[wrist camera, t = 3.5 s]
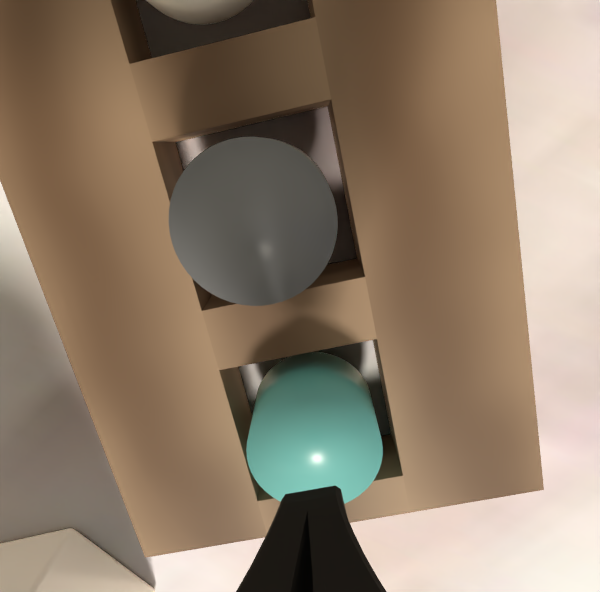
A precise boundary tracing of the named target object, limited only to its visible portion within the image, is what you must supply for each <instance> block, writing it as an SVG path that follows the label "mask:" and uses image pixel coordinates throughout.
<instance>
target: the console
mask: <svg viewBox="0 0 600 592" xmlns="http://www.w3.org/2000/svg"><path fill="white" fill-rule="evenodd" d="M307 1H308V6H309V12H310V17H311V18H310V19H306V20H302V21H298V22H294V23H290V24H286V25H282V26H278V27H274V28H270V29H266V30H262V31H258V32H254V33H251V34H247V35H243V36H239V37H235V38H231V39H227V40H223V41H219V42H215V43H211V44H207V45H203V46H199V47H195V48H191V49H187V50H183V51H179V52H175V53H171V54H167V55H163V56H159V57H155V58H152V57H151V54H150V50H149V47H148V43H147V39H146V36H145V32H144V29H143V25H142V22H141V18H140V14H139V11H138V7H137V4H136V0H0V181H1V184H2V186H3V189H4V191H5V194H6V197H7V199H8V202H9V204H10V207H11V210H12V212H13V215H14V217H15V220H16V223H17V225H18V228H19V230H20V233H21V236H22V238H23V241H24V243H25V246H26V249H27V251H28V254H29V256H30V259H31V262H32V264H33V267H34V269H35V272H36V275H37V277H38V280H39V282H40V285H41V288H42V290H43V293H44V295H45V298H46V301H47V303H48V306H49V308H50V311H51V314H52V316H53V319H54V322H55V324H56V327H57V329H58V332H59V335H60V337H61V340H62V342H63V345H64V348H65V350H66V353H67V355H68V358H69V361H70V363H71V366H72V368H73V371H74V374H75V376H76V379H77V381H78V384H79V387H80V389H81V392H82V394H83V397H84V400H85V402H86V405H87V407H88V410H89V413H90V415H91V418H92V420H93V423H94V426H95V428H96V431H97V433H98V436H99V439H100V441H101V444H102V446H103V449H104V452H105V454H106V457H107V459H108V462H109V465H110V467H111V470H112V472H113V475H114V478H115V480H116V483H117V485H118V488H119V491H120V493H121V496H122V499H123V501H124V504H125V506H126V509H127V512H128V514H129V517H130V519H131V522H132V525H133V527H134V530H135V532H136V535H137V538H138V540H139V543H140V545H141V548H142V551H143V553H144V556H145V557H151V556H157V555H163V554H169V553H175V552H181V551H187V550H192V549H198V548H204V547H210V546H216V545H222V544H228V543H233V542H239V541H245V540H251V539H257V538H263V537H266V535H267V533H268V531H269V528H270V526H271V524H272V522H273V519H274V517H275V515H276V512H277V510H278V508H279V505H280V503H281V502H280V501H278V500H277V499H275V498H273V497H272V496H270V495H269V494H268V493H267V492H266V491H264V489H263V488H262V487H261V486H260V485H259V484H258V483H257V481H256V480H255V478H254V476H253V475H252V473H251V470H250V468H249V465H248V460H247V452H246V448H247V440H248V435H249V430H250V425H251V421H252V414H251V410H250V407H249V403H248V399H247V396H246V392H245V389H244V385H243V382H242V378H241V374H240V371H239V367H238V366H243V365H248V364H253V363H258V362H263V361H268V360H273V359H278V358H283V357H288V356H293V355H298V354H303V353H309V352H314V351H319V350H324V349H329V348H334V347H339V346H344V345H349V344H354V343H359V342H364V341H369V340H373V343H374V348H375V353H376V358H377V363H378V368H379V374H380V379H381V384H382V389H383V394H384V399H385V405H386V410H387V415H388V420H389V425H390V430H391V434H389V435H384V436H381V439H382V446H383V457H382V462H381V466H380V469H379V471H378V473H377V475H376V477H375V479H374V480H373V482H372V483H371V485H370V486H369V487H368V488H367V489H366V490H365V491H364V492H363V493H362V494H360V495H359V496H358V497H356V498H355V499H353V500H351V501H349V502H347V503H345V504H344V505H345V509H346V513H347V517H348V520H349V523H351V522H357V521H363V520H369V519H374V518H380V517H386V516H392V515H398V514H404V513H410V512H416V511H421V510H427V509H433V508H439V507H445V506H451V505H457V504H463V503H468V502H474V501H480V500H486V499H492V498H498V497H504V496H510V495H515V494H521V493H527V492H533V491H539V490H544V487H543V477H542V467H541V457H540V446H539V436H538V426H537V416H536V405H535V395H534V385H533V375H532V364H531V354H530V344H529V334H528V324H527V313H526V303H525V293H524V283H523V272H522V262H521V252H520V242H519V232H518V221H517V211H516V201H515V191H514V180H513V170H512V160H511V150H510V139H509V129H508V119H507V109H506V99H505V88H504V78H503V68H502V58H501V47H500V37H499V27H498V17H497V7H496V0H307ZM326 106H328V110H329V115H330V120H331V125H332V131H333V136H334V141H335V146H336V151H337V156H338V162H339V167H340V172H341V177H342V182H343V187H344V193H345V198H346V203H347V208H348V213H349V218H350V224H351V229H352V234H353V239H354V244H355V250H356V255H357V259H352V260H347V261H342V262H338V263H333V264H328V265H326V267H325V269H324V270H323V272H322V273H321V274H320V276H319V277H318V278H317V279H316V280H315V281H314V282H313V283H312V284H311V285H310V286H309V287H308V288H306V289H305V290H304V291H302V292H301V293H299V294H297V295H296V296H294V297H292V298H290V299H287V300H285V301H283V302H279V303H275V304H271V305H264V306H248V305H240V304H236V303H232V302H229V301H226V300H223V299H221V298H219V297H217V296H215V295H213V294H211V293H210V292H208V291H207V290H205V289H204V288H202V287H201V286H200V285H199V284H198V283H197V282H196V281H194V279H193V278H192V277H191V276H190V275H189V274H188V273H187V271H186V270H185V269H184V267H183V266H182V264H181V263H180V261H179V259H178V257H177V255H176V253H175V250H174V247H173V244H172V241H171V237H170V232H169V222H168V221H169V207H170V201H171V197H172V194H173V190H174V188H175V185H176V183H177V181H178V179H179V177H180V176H181V174H182V173H183V168H182V164H181V161H180V157H179V153H178V150H177V146H176V143H175V142H178V141H182V140H187V139H191V138H195V137H199V136H203V135H208V134H212V133H216V132H220V131H224V130H229V129H233V128H237V127H241V126H246V125H250V124H254V123H258V122H262V121H267V120H271V119H275V118H279V117H283V116H288V115H292V114H296V113H300V112H305V111H309V110H313V109H317V108H321V107H326Z"/></svg>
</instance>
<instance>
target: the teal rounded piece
mask: <svg viewBox="0 0 600 592" xmlns="http://www.w3.org/2000/svg"><path fill="white" fill-rule="evenodd" d="M246 452H247V460H248V465H249V468H250V470H251V473H252V475H253V476H254V478H255V480H256V481H257V483H258V484H259V485H260V486H261V487H262V488H263V489H264V491H266V492H267V493H268V494H269V495H270V496H272V497H273V498H275V499H277V500H278V501H280V502H281V500H282V498H283V497H284V496H285V494H289V493H295V492H300V491H306V490H312V489H318V488H324V487H329V486H337V487H339V488H340V489H341V492H342V496H343V500H344V504H345V503H347V502H349V501H351V500H353V499H355V498H356V497H358V496H359V495H360V494H362V493H363V492H364V491H365V490H366V489H367V488H368V487H369V486H370V485H371V483H372V482H373V480H374V479H375V477H376V475H377V473H378V471H379V469H380V466H381V462H382V457H383V446H382V439H381V435H380V431H379V427H378V423H377V419H376V415H375V411H374V407H373V403H372V399H371V395H370V391H369V388H368V385H367V383H366V381H365V379H364V378H363V376H362V375H361V374H360V372H359V371H358V370H357V369H356V368H355V367H354V366H352V365H351V364H350V363H348V362H347V361H345V360H343V359H341V358H339V357H337V356H334V355H331V354H327V353H320V352H309V353H303V354H298V355H293V356H290V357H288V358H286V359H284V360H282V361H280V362H279V363H278V364H276V365H275V366H274V367H273V368H272V369H270V370H269V371H268V373H267V374H266V375H265V377H264V378H263V380H262V382H261V384H260V386H259V389H258V392H257V396H256V401H255V406H254V411H253V416H252V421H251V425H250V430H249V435H248V440H247V448H246Z"/></svg>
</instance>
